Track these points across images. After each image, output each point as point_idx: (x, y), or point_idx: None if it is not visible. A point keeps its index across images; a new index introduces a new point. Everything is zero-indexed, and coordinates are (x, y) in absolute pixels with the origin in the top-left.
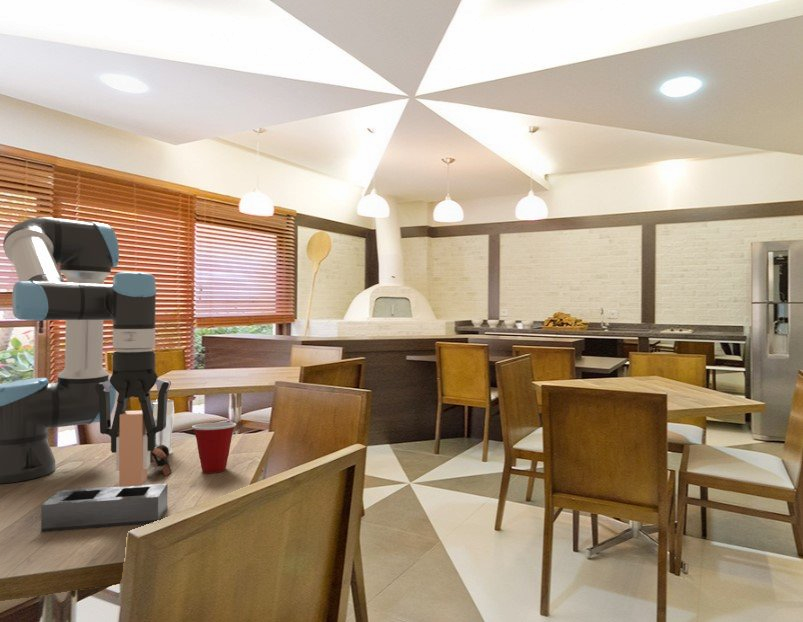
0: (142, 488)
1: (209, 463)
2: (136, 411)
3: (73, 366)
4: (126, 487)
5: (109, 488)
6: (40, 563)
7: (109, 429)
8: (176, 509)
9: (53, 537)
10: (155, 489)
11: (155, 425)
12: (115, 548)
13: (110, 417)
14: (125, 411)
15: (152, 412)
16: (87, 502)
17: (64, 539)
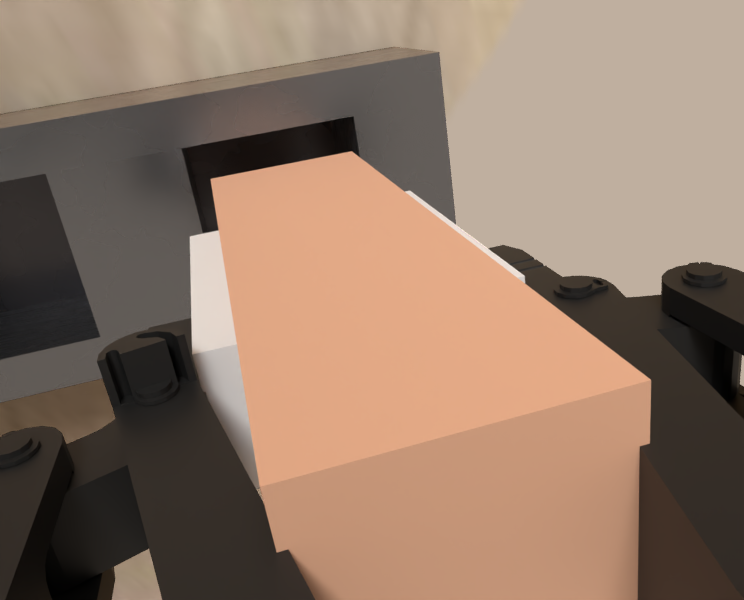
0: (301, 122)
1: None
2: (495, 510)
3: None
4: (195, 129)
5: (81, 146)
6: (145, 589)
7: (126, 551)
8: (450, 78)
9: (17, 411)
10: (404, 173)
11: (630, 304)
12: None
13: (23, 561)
14: (279, 531)
15: (723, 408)
16: (99, 376)
17: (87, 424)
